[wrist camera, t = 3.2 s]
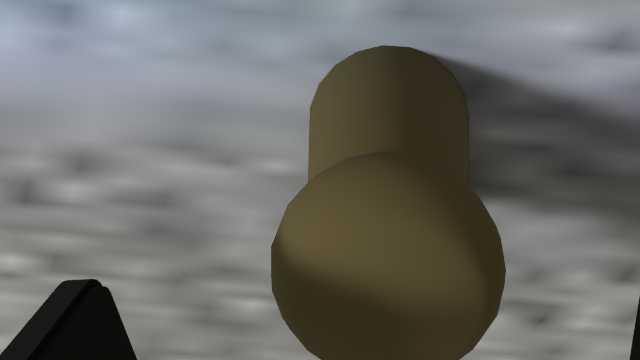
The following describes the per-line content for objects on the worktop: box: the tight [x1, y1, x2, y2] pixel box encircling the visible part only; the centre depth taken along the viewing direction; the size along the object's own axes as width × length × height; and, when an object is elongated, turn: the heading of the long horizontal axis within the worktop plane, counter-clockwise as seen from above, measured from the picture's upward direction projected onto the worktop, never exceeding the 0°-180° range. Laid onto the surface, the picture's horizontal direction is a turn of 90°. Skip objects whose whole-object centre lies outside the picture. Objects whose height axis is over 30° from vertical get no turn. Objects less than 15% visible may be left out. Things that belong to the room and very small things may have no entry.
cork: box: [271, 46, 506, 360], centre depth 16 cm, size 6×6×11 cm
